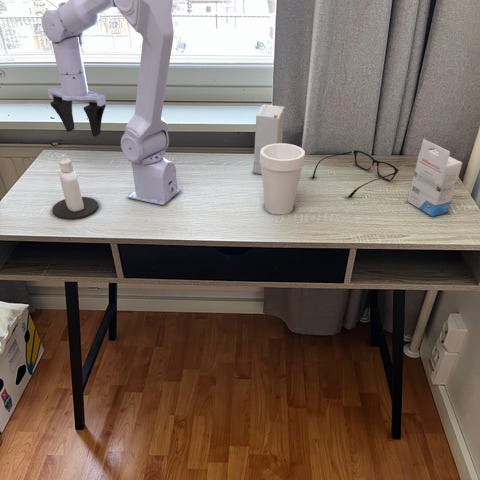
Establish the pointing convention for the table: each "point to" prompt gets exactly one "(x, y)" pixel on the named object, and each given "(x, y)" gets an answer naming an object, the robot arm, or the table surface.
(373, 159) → the eyeglasses
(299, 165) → the foam cup
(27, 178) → the table surface
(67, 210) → the coaster
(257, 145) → the cosmetic box
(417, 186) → the ink box
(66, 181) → the eye dropper bottle
